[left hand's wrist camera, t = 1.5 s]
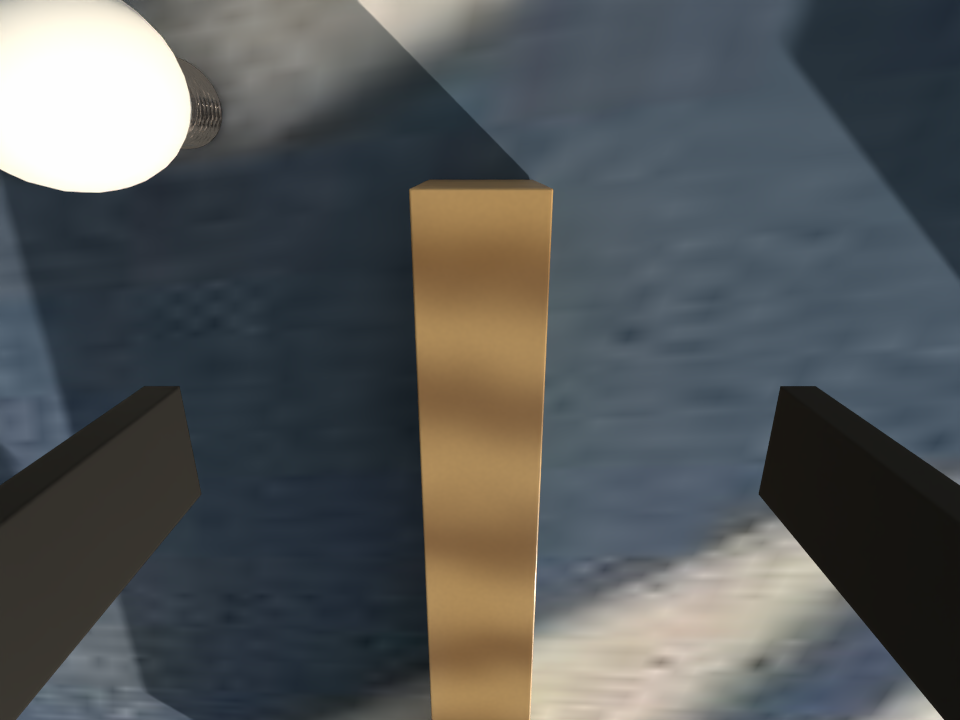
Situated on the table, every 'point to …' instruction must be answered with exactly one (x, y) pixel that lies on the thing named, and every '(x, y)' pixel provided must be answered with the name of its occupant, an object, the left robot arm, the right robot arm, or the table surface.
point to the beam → (480, 433)
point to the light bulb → (94, 96)
